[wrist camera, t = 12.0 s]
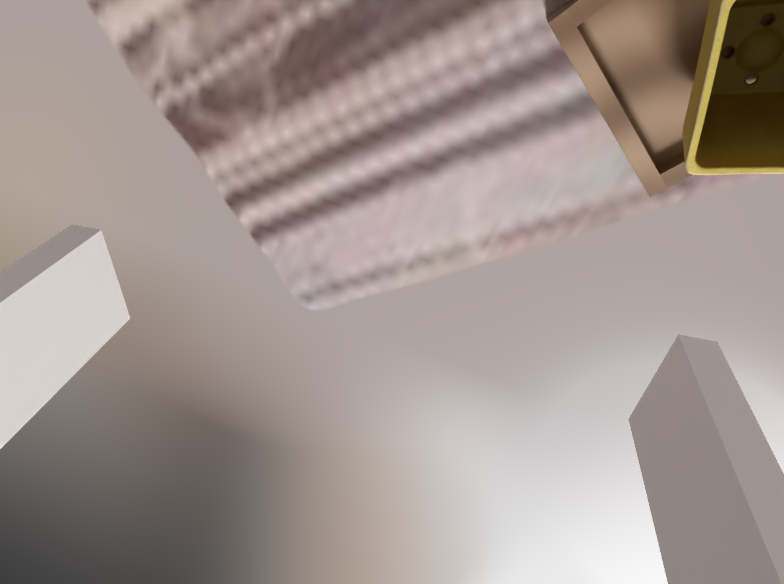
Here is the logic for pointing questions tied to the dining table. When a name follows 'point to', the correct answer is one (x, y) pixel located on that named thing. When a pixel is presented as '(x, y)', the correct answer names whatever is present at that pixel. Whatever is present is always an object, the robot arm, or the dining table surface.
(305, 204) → the dining table surface
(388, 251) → the dining table surface
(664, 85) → the walnut tray
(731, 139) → the flower pot
